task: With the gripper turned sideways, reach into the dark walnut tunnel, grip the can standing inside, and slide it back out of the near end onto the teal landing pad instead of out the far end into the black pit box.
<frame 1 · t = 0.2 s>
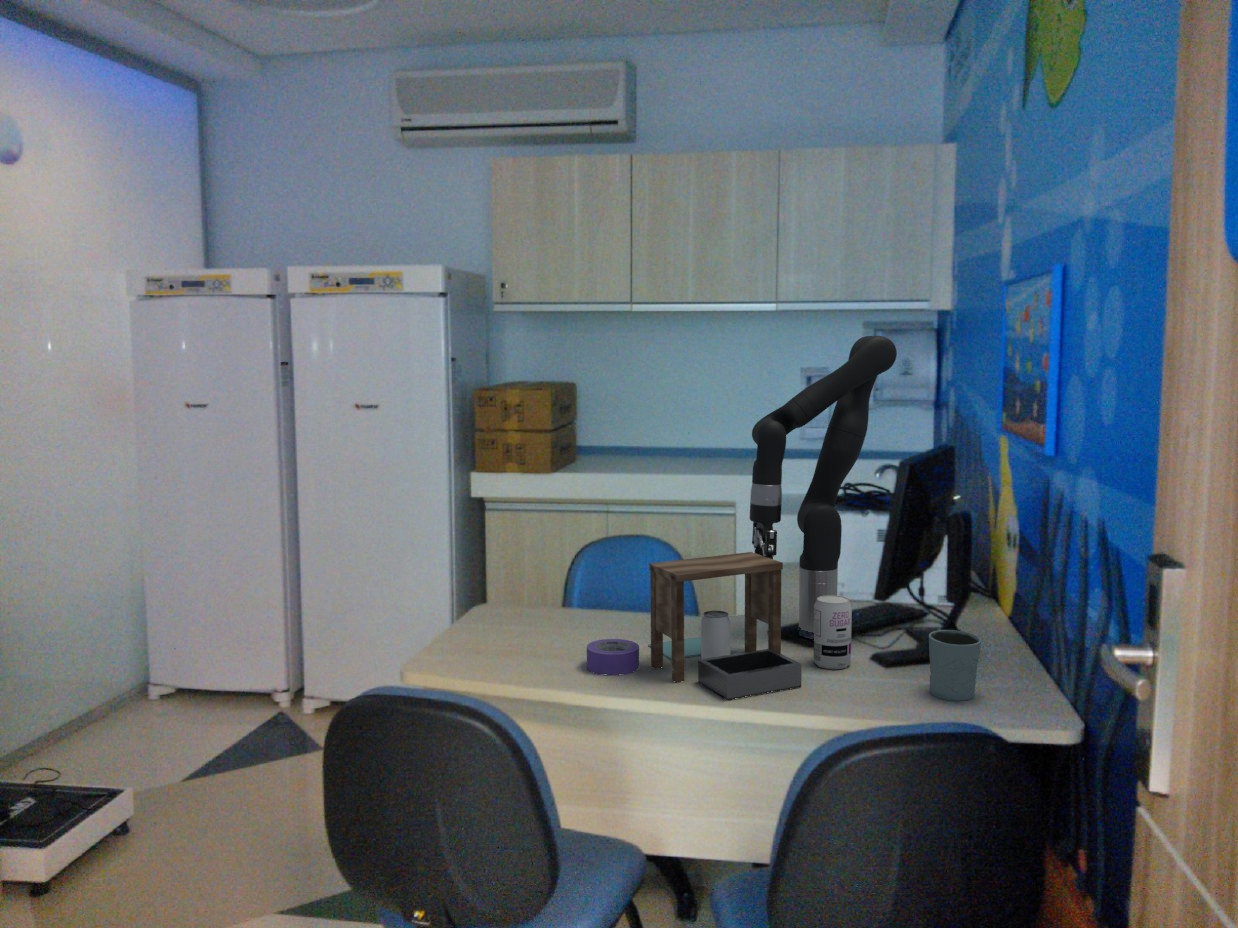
hand: (763, 567, 238), 18 cm above the table, tool pointing down, fingers open, 8 cm apart
tape roll: (613, 668, 220), on the table
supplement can: (831, 665, 220), on the table
tunnel: (715, 665, 220), on the table
can: (715, 666, 220), on the table
grey green cup: (953, 694, 200), on the table
pit box: (749, 684, 207), on the table
landing pad: (686, 648, 232), on the table
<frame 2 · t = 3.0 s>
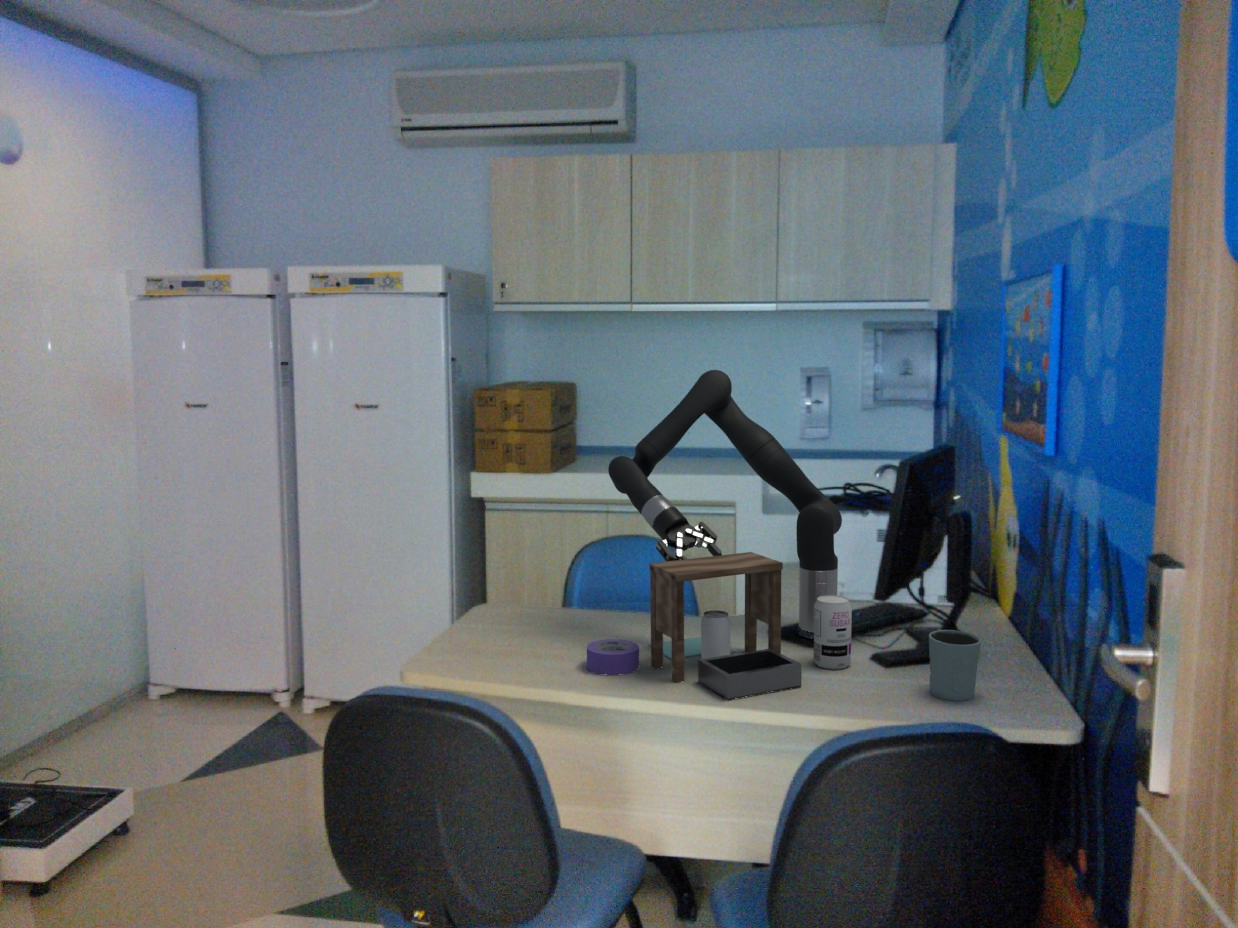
hand: (705, 563, 224), 22 cm above the table, tool tilted 55°, fingers open, 8 cm apart
nothing on the table moved.
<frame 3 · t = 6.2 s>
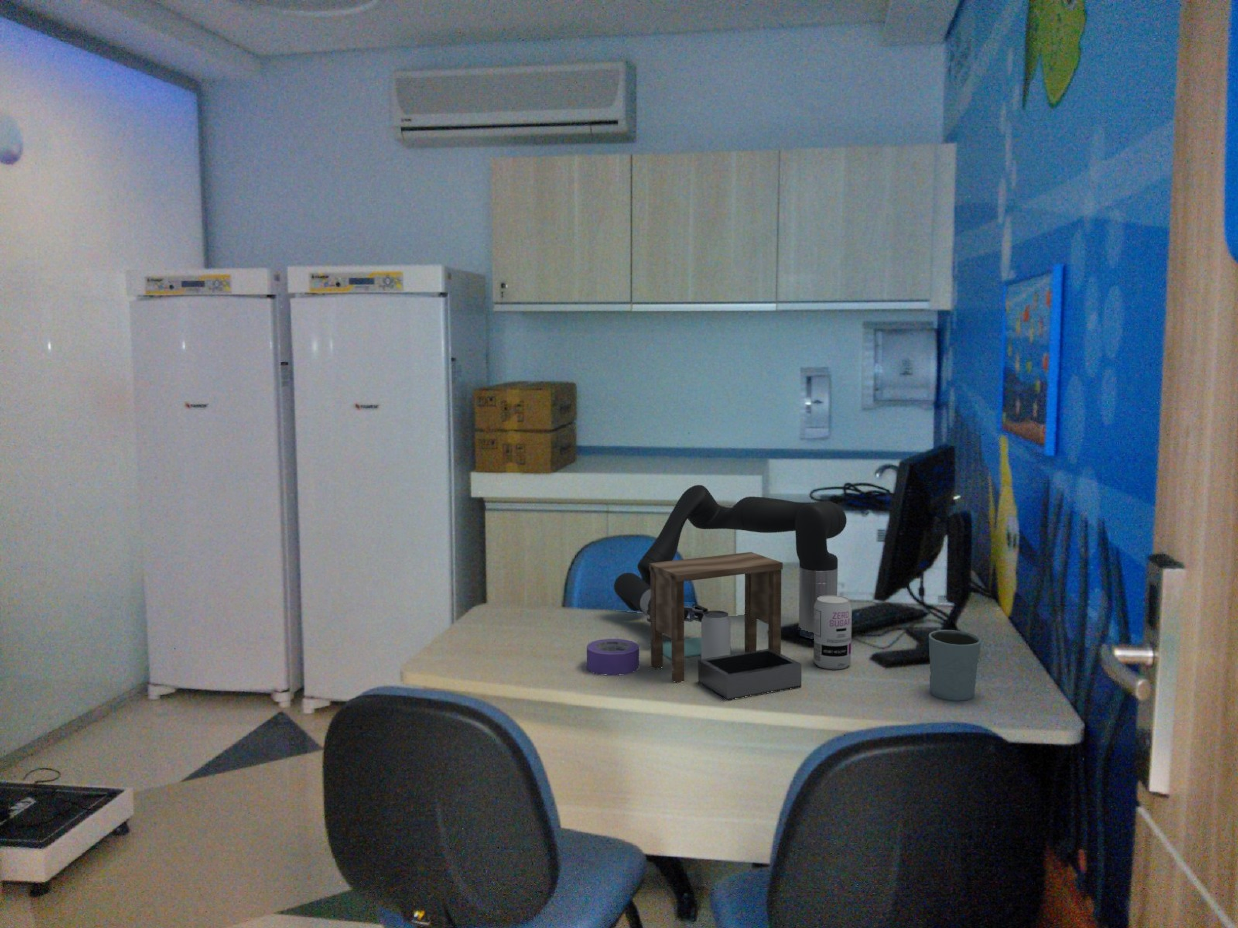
hand: (691, 622, 229), 7 cm above the table, tool horizontal, fingers open, 8 cm apart
nothing on the table moved.
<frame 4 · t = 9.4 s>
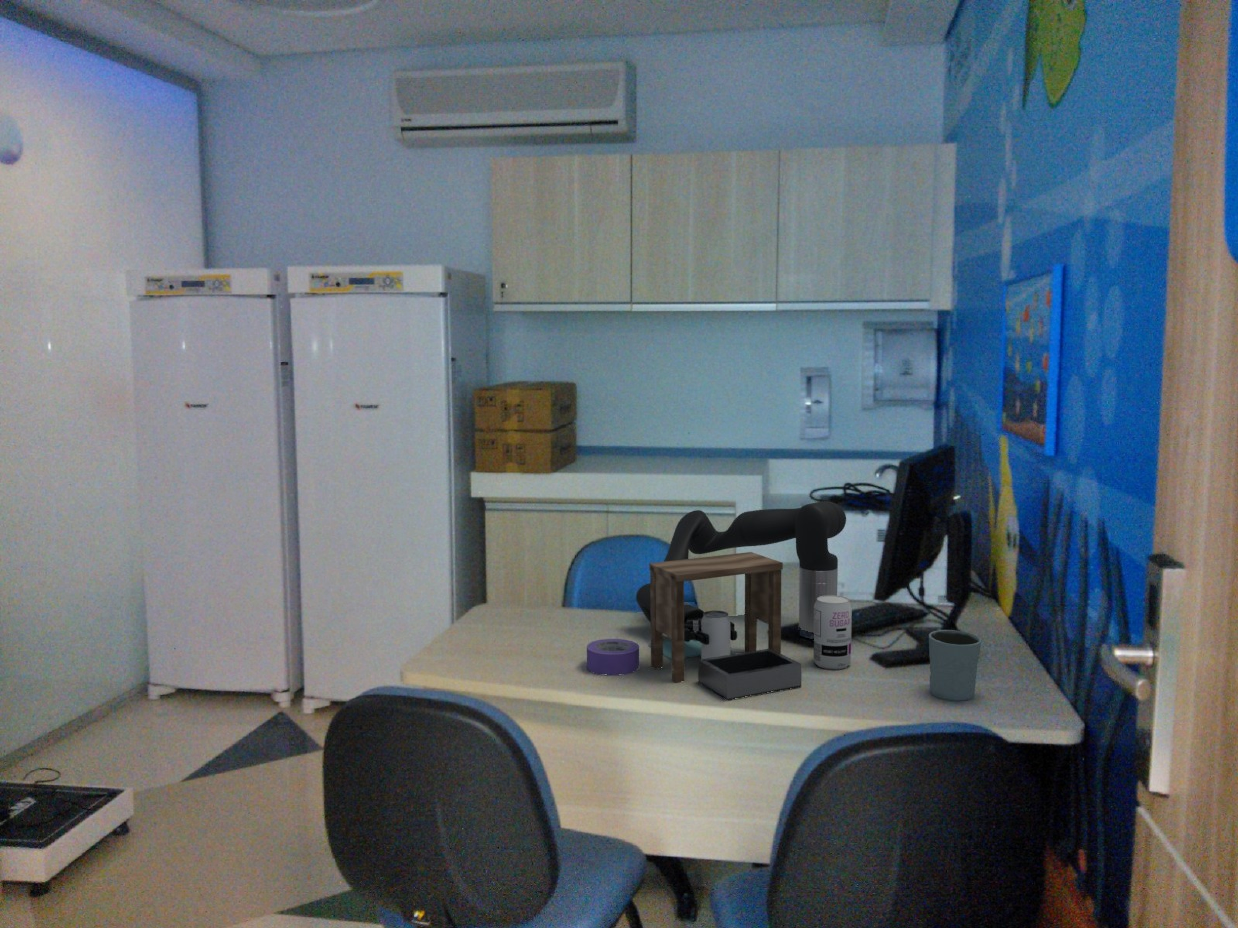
hand: (721, 638, 217), 7 cm above the table, tool horizontal, fingers open, 6 cm apart
can: (715, 666, 220), on the table, touching gripper
everything else where it was.
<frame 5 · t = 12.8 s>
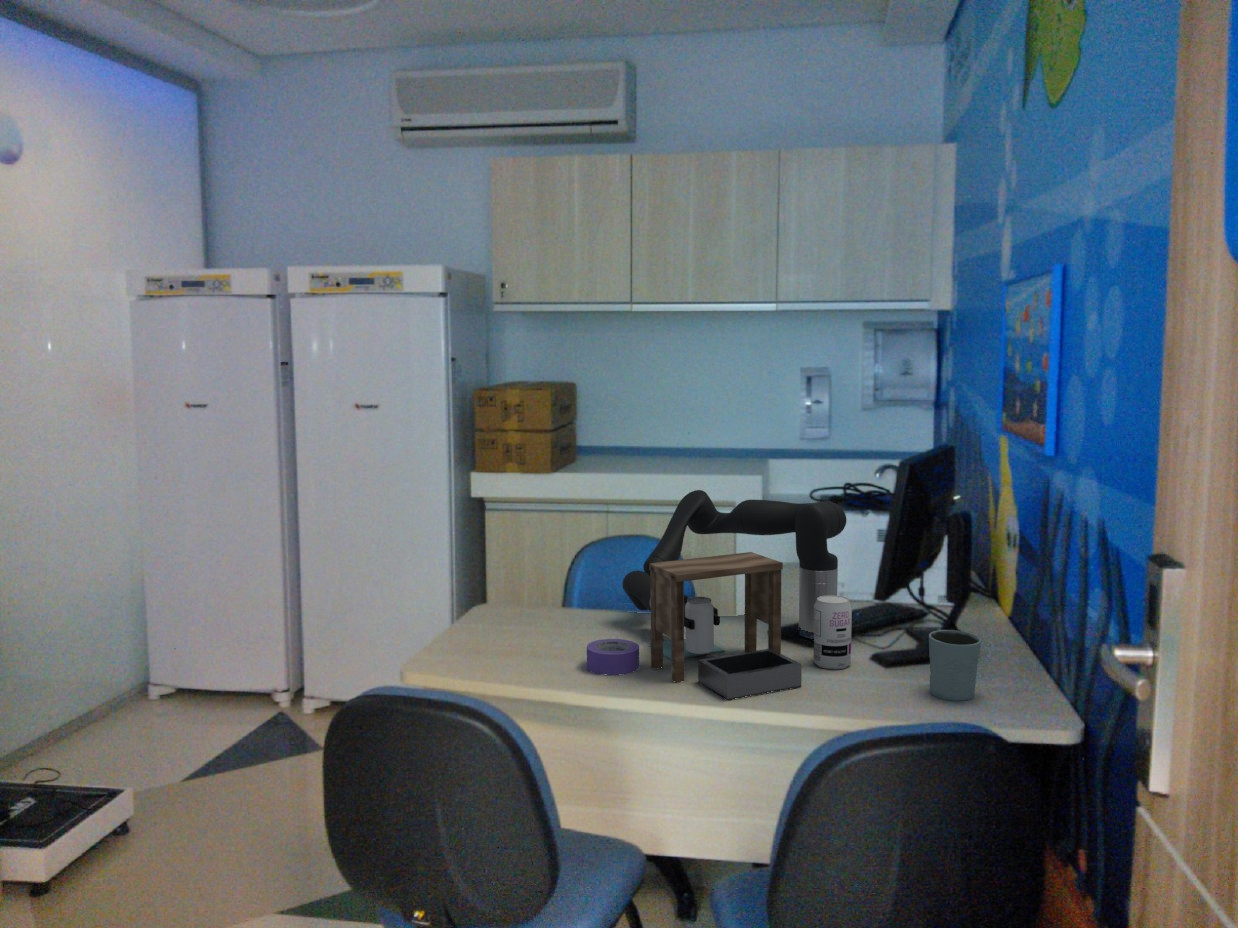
hand: (705, 623, 223), 9 cm above the table, tool horizontal, fingers closed on can, 6 cm apart
can: (699, 651, 226), point 1 cm above the table, touching gripper
everything else where it was.
when the fingers open (8 cm above the table, at t = 16.0 s): can stays where it is, resting on landing pad.
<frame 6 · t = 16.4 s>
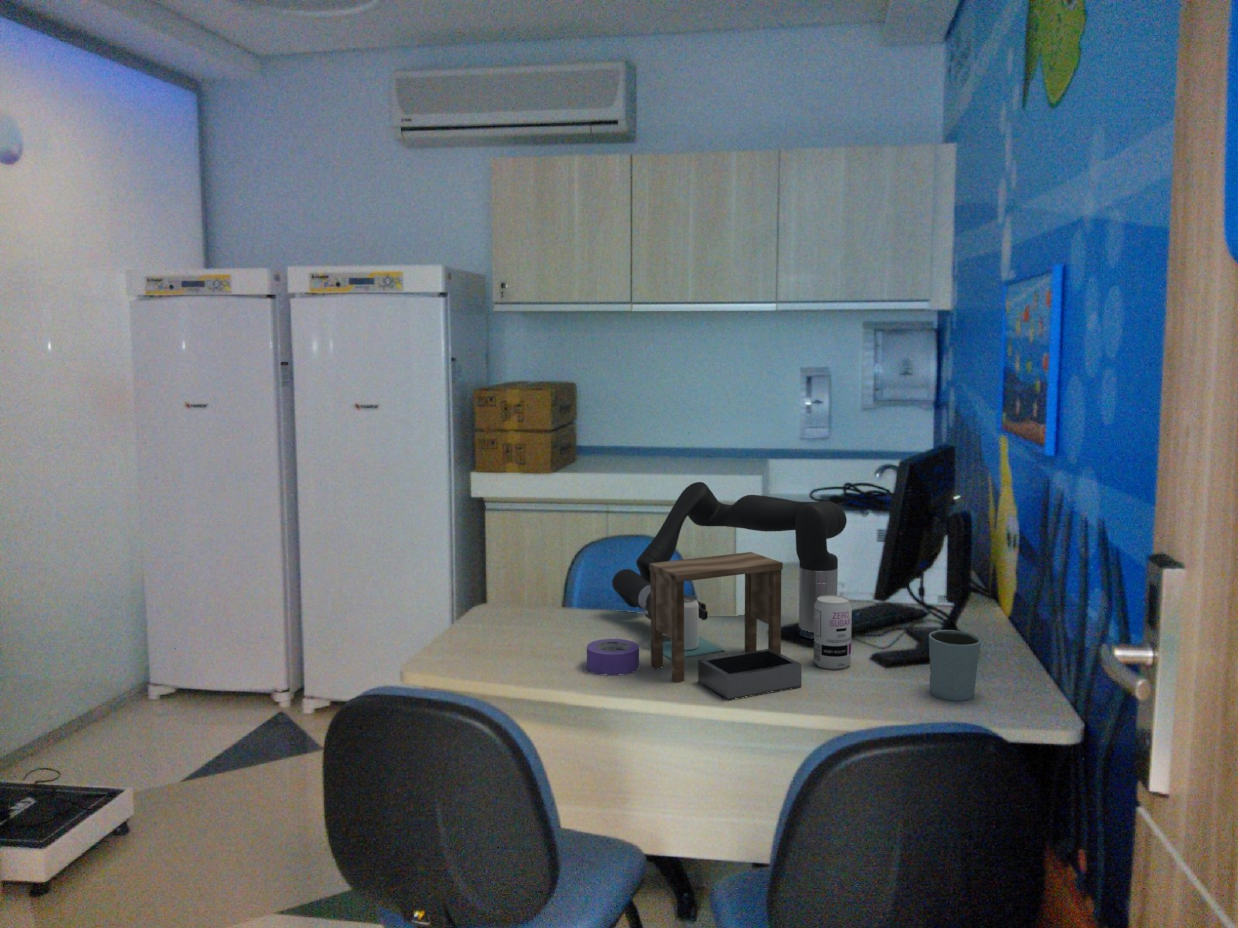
hand: (689, 617, 230), 8 cm above the table, tool horizontal, fingers open, 8 cm apart
can: (684, 648, 232), resting on landing pad
everything else where it was.
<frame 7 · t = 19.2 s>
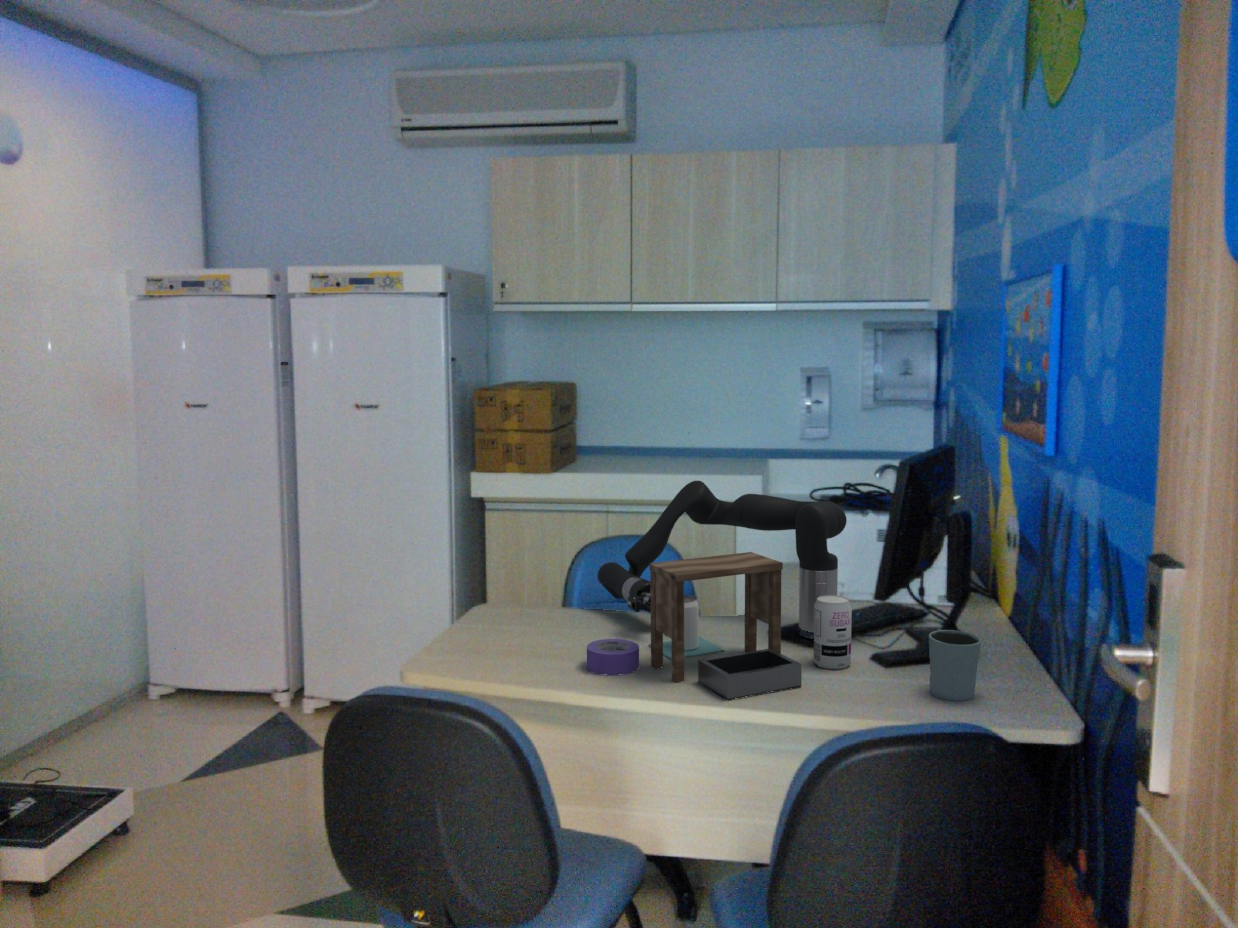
hand: (670, 608, 239), 8 cm above the table, tool horizontal, fingers open, 8 cm apart
nothing on the table moved.
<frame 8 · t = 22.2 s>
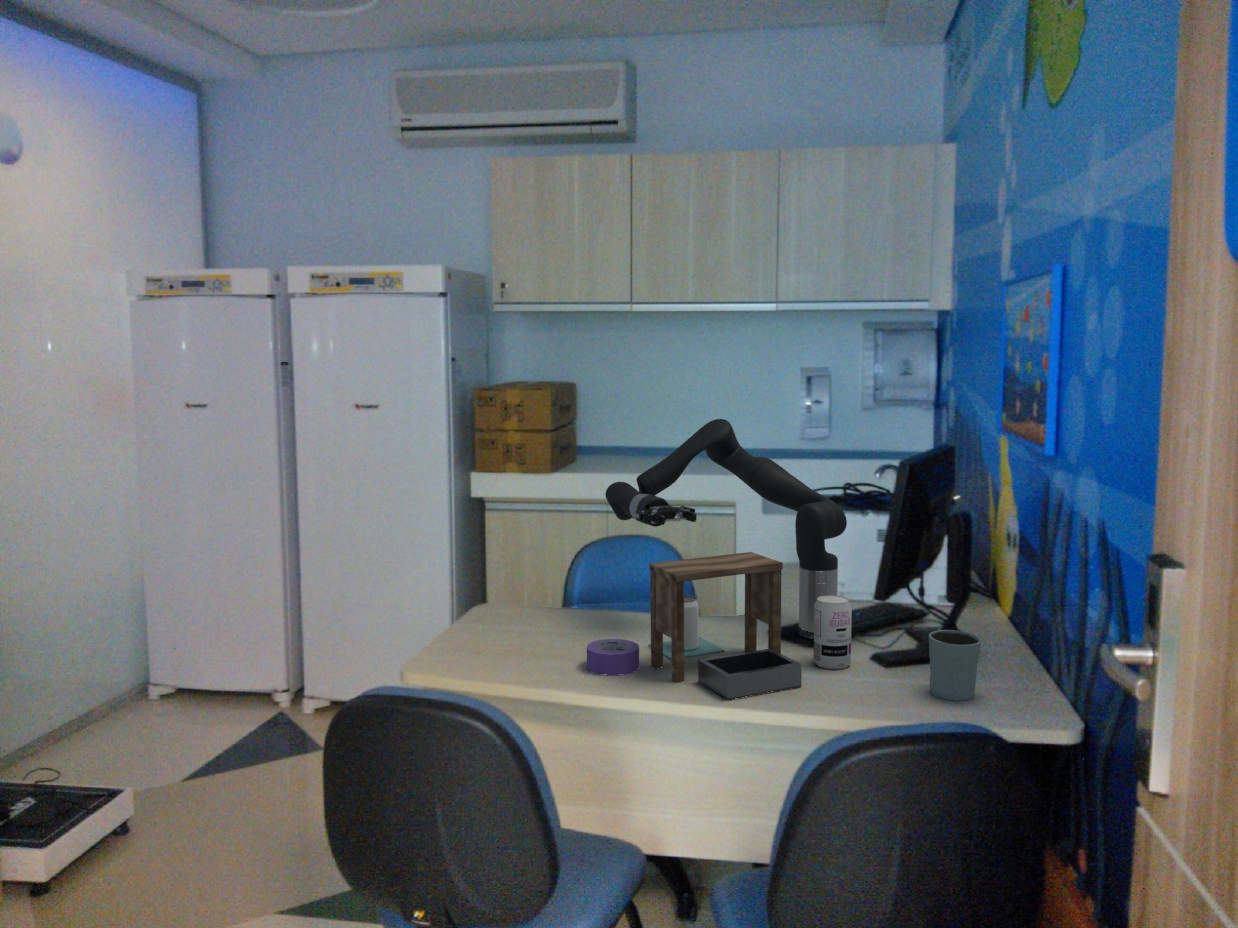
hand: (679, 519, 236), 30 cm above the table, tool horizontal, fingers open, 8 cm apart
nothing on the table moved.
at the end: can 0.3 cm from the landing pad (horizontally); can tilted 0°; the gripper is holding nothing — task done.
